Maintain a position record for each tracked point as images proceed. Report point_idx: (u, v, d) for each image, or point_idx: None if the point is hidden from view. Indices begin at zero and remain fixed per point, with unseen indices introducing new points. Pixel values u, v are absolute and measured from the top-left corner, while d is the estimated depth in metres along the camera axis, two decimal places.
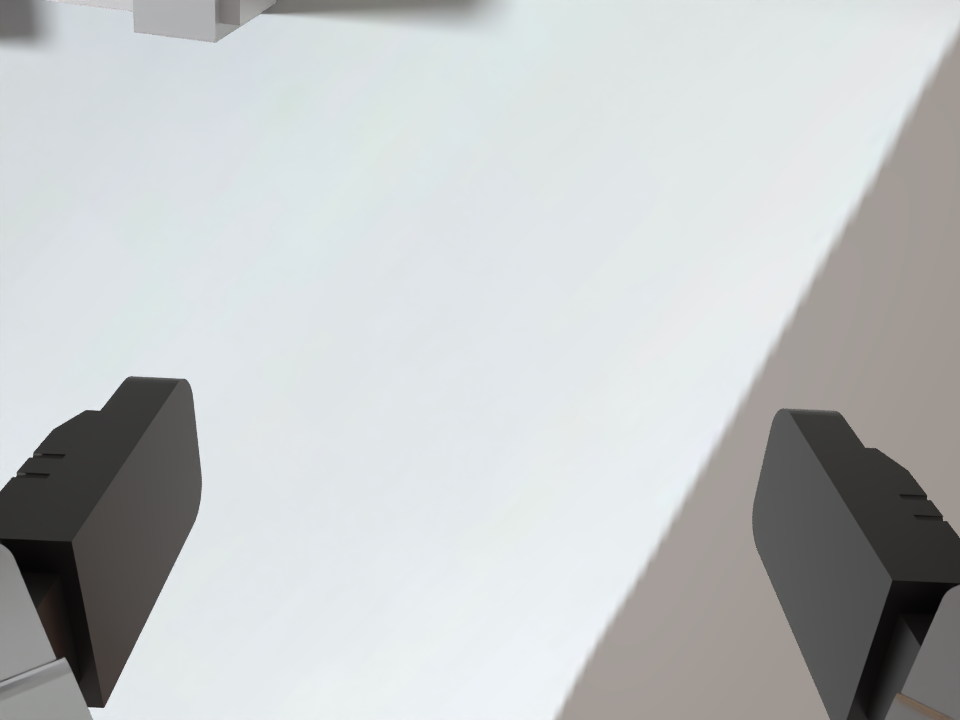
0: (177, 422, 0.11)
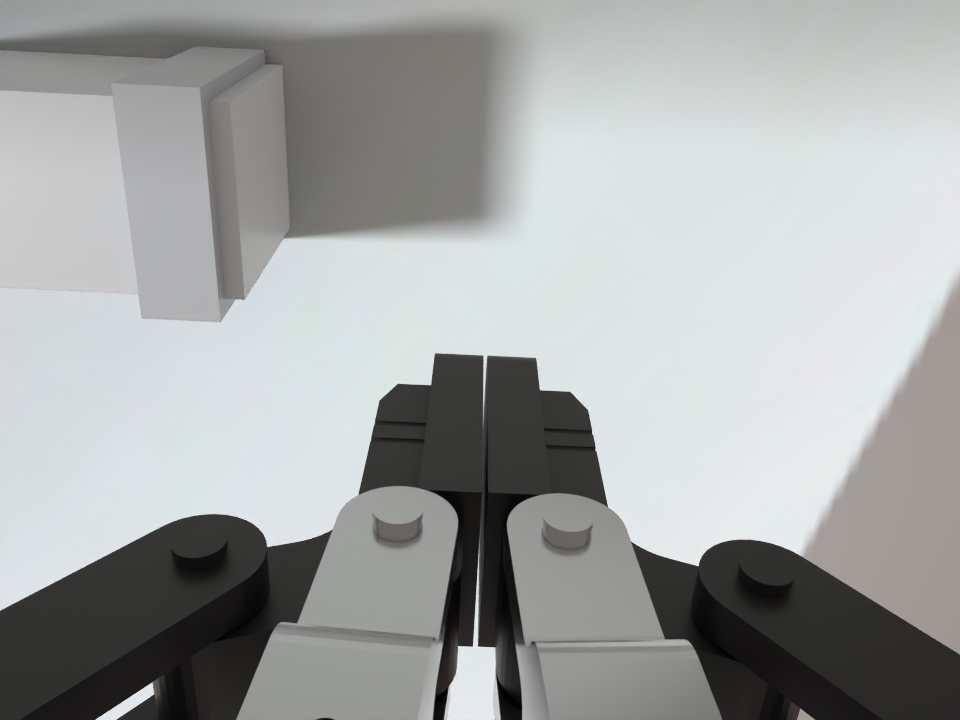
0: None
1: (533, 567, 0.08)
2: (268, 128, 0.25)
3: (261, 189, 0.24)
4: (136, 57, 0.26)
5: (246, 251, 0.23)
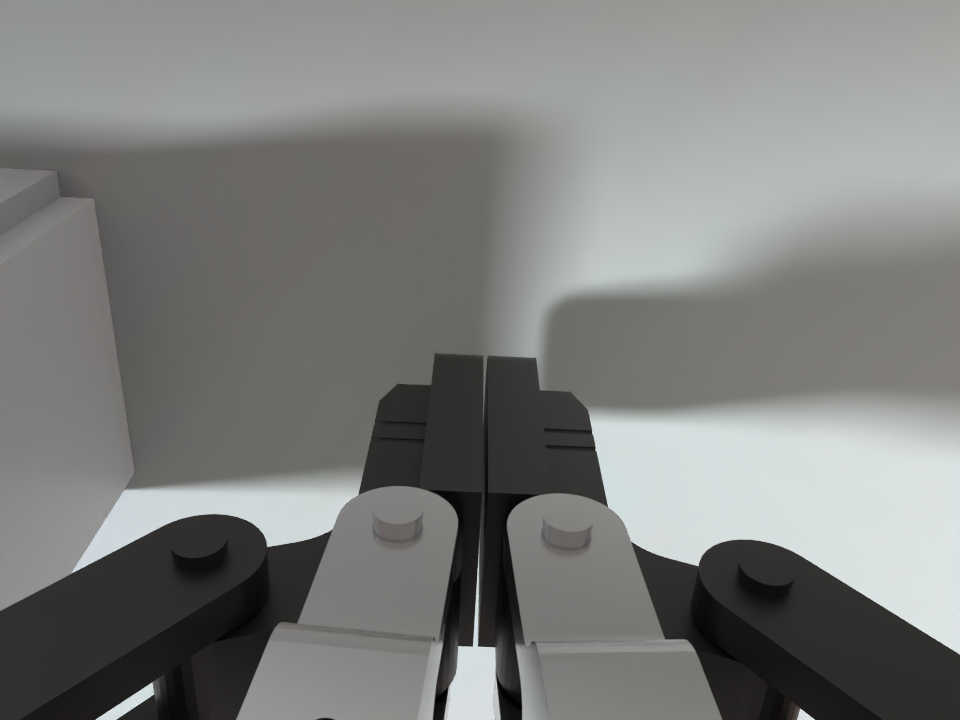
0: None
1: (533, 567, 0.08)
2: (44, 342, 0.12)
3: (18, 481, 0.12)
4: None
5: None
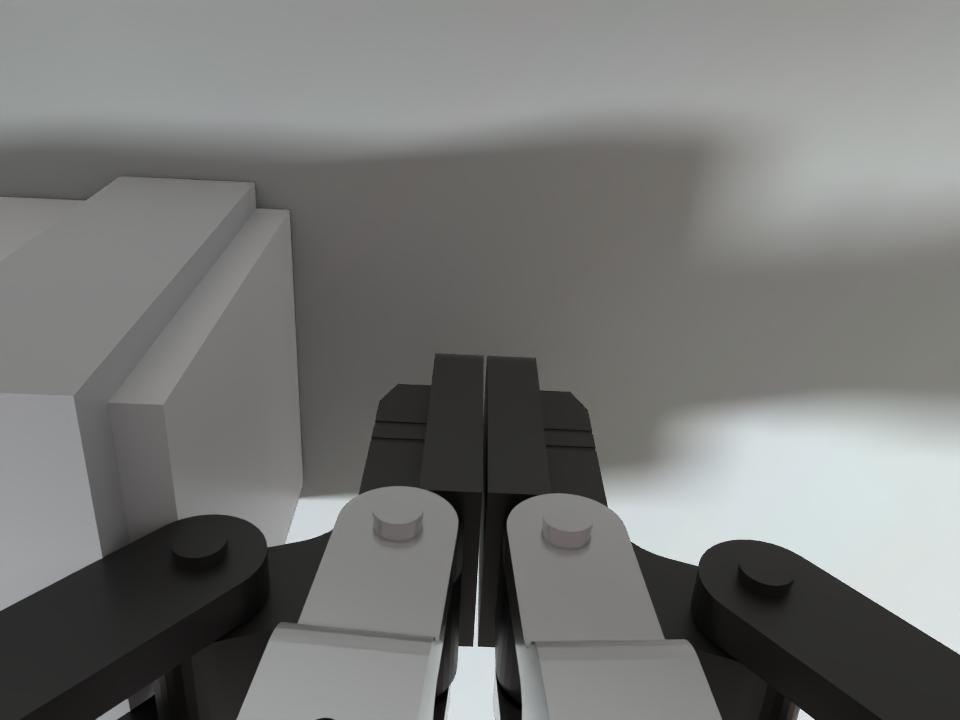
0: None
1: (533, 567, 0.08)
2: (263, 357, 0.12)
3: (248, 496, 0.11)
4: (3, 197, 0.13)
5: None
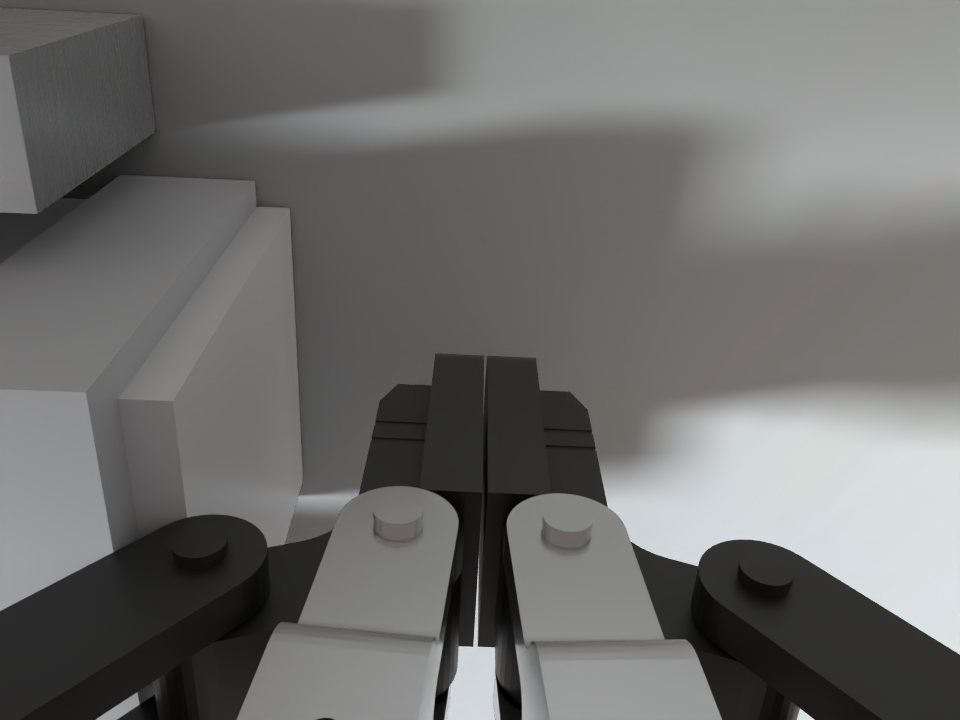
0: None
1: (533, 567, 0.08)
2: (265, 354, 0.12)
3: (252, 492, 0.12)
4: None
5: None
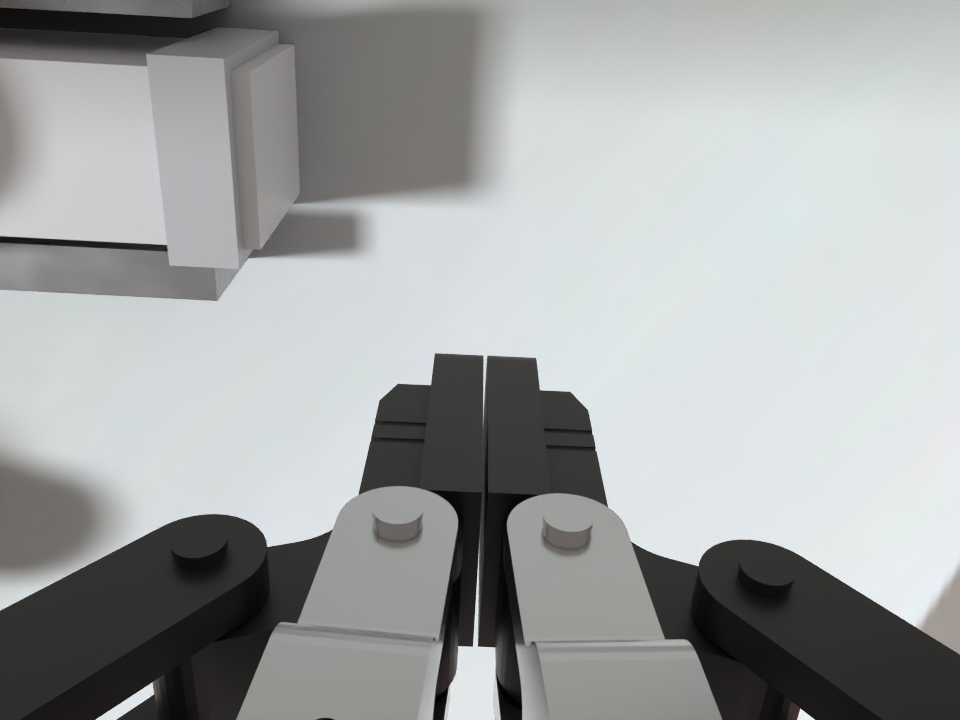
0: None
1: (534, 567, 0.08)
2: (282, 99, 0.28)
3: (275, 154, 0.27)
4: (163, 37, 0.29)
5: (262, 207, 0.26)
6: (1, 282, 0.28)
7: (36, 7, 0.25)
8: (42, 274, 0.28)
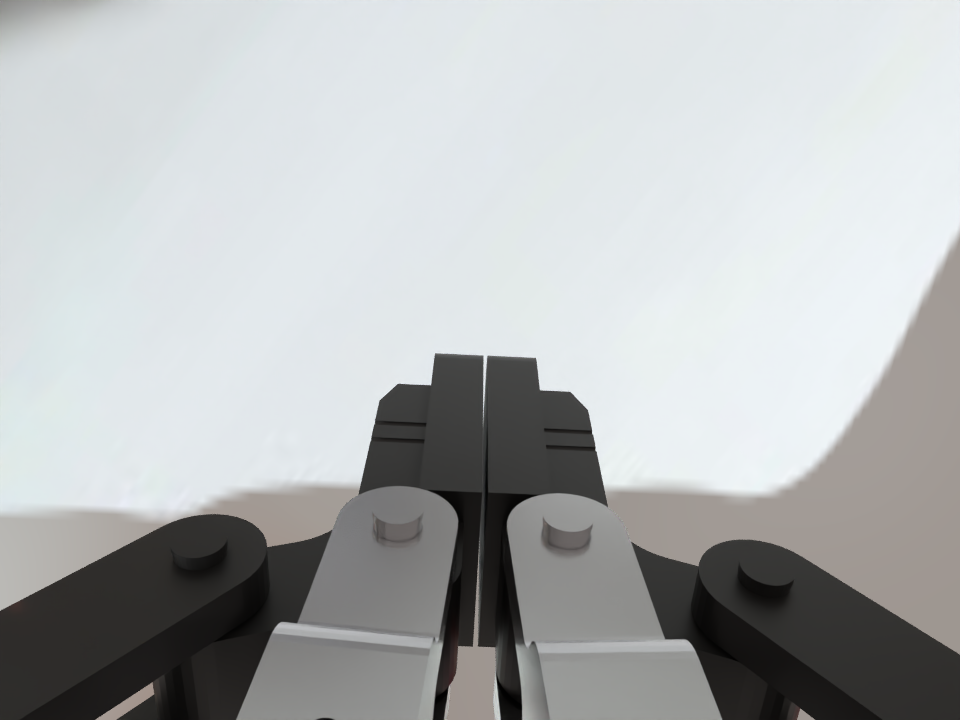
0: None
1: (533, 567, 0.08)
2: None
3: None
4: None
5: None
6: None
7: None
8: None
